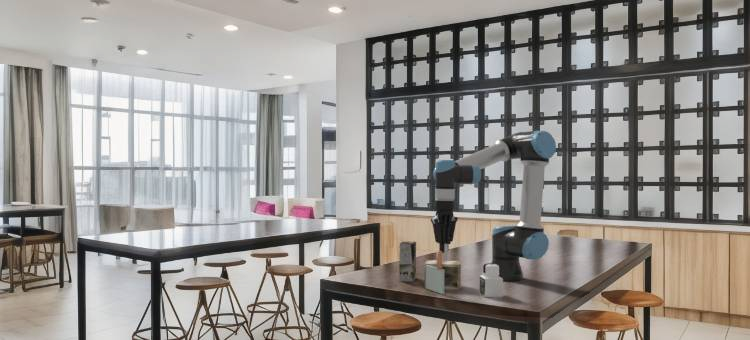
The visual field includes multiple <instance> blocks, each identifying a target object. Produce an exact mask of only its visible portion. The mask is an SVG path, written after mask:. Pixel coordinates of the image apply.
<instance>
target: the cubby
mask: <svg viewBox="0 0 750 340" xmlns="http://www.w3.org/2000/svg"><path fill="white" fill-rule="evenodd" d="M425 265H430V266H433V267H437V259H426V261H425V262H424V266H425ZM442 269H444V276H449V286H447V285H444V290H454V291H455V290H456V291H457V290H458V291H459V290H461V286H462V285H461V284H462V283H461V281H462V276H461V275H462V273H461V272H462V270H461V269H462V261H461V260H448V261H442Z"/></svg>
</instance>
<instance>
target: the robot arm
mask: <svg viewBox="0 0 750 340" xmlns="http://www.w3.org/2000/svg"><path fill="white" fill-rule="evenodd" d="M556 150H557V143H556V140H555V138H554V137H553V136H552V134H551V133H550V132H548V131H545V130H532V131H531V130H530V131H519V132H516V133H512V134H510V135H508V136H506V137H504V138H501V139H499V140H496V141H495V142H494V144H493V145H491V146H488V147H486V148H483V149H481V150H478V151H475V152H474V153H471V154H469V155H467V156H464V157H462V158H460V159H457V160H454V159H438V160H436V161H435V168H434V169H433V171H432V177H433V179H434V180H435V184H434V185H435V191H434V192H435V193H434V197H435V201H434V210H436V211H435V216H434V217H433V218H430V222H431V224H432V229H433V234H434V242H435V243H437V244H439V250H438V251H442V261H449V260H448V257H449V255H448V254H449V245H451V243H452V242H453V241H454V235H455V231H456V226H457V225H456V224H457V222H458V220H459V219H458V217H456V216H455V215H454V210H455V203H456V202H455V198H456V196H455V195H456V193H455V192H456V189H455V188H456V185H476V184H478V183H479V182H480V181H481V180H482V179H481V178H482V171H481V170H482V169H486V168H487V167H490V166H492V165H494V164H497V163H499V162H507V161H510V160H516V159H519V160H520V163H521V164H522V165H523V172H522V174H523V175H522V185H521V198H520V200H521V201H520V211H519V212H520V213H519V221H518V223H516V224H515V225H506V226H503V225H502V226H495V227H493V229H492V235H491V240H492V241H491V249H492V250H491V251H492V252H491V253H492V255H491V257H492V258H491V262H490V263H493V264H497V265H499V275H498V276H499V277H501V278H503V282H513V281H514V282H515V281H517V282H518V281H522V280H523V279H524V272H523V269H522V266H521V263H520V258H522V259H526V260H540V259H541V258H543V256H544V255H546V253H547V251H548V249H549V246H550V242H549V238H548V236H547V235H546V234H545V233H544V230H545V228H544V226H543V225H542V223H541V219H542V209H543V206H542V205H543V194H544V181H545V170H546V169H545V168H546V166H548V165H549V163H550V159H551V158H552V157H553V156H554V155H555V153H556Z"/></svg>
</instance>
